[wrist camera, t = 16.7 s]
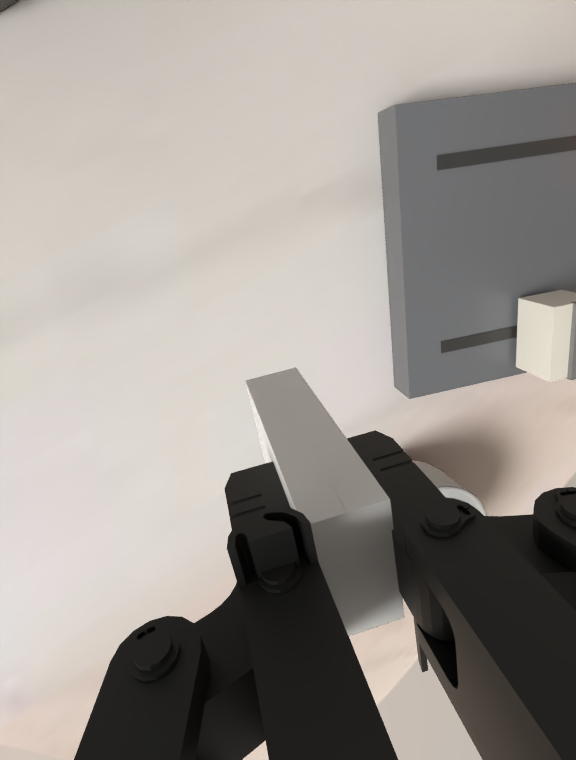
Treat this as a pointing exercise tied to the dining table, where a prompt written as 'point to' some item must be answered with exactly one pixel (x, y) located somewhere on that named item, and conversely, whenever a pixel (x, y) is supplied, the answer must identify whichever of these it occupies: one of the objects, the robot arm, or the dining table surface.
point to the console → (474, 227)
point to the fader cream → (547, 335)
